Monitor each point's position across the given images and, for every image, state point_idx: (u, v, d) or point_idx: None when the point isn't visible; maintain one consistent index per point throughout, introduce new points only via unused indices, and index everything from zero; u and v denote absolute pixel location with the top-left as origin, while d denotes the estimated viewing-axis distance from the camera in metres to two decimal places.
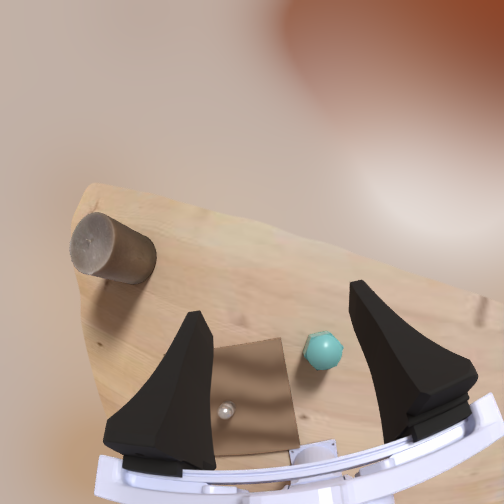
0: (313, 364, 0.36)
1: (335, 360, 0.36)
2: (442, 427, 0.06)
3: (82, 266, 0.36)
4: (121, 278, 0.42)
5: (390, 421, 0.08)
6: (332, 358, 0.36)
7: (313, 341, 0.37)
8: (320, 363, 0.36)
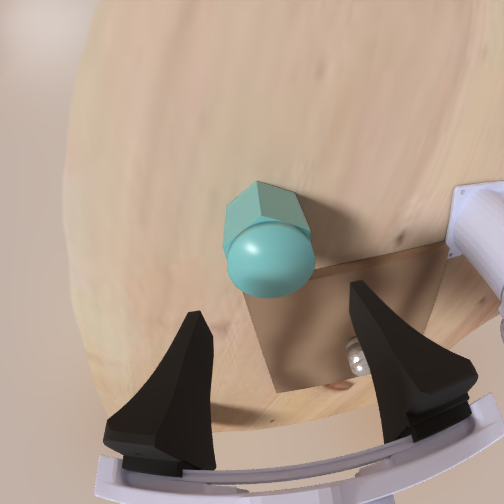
0: (298, 285, 0.17)
1: (294, 242, 0.15)
2: (442, 427, 0.06)
3: None
4: None
5: (390, 421, 0.08)
6: (288, 249, 0.15)
7: (243, 288, 0.17)
8: (297, 273, 0.16)
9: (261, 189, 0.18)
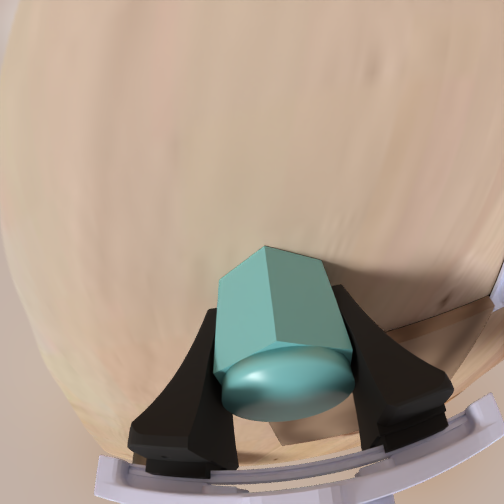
0: (324, 409, 0.10)
1: (328, 376, 0.08)
2: (415, 439, 0.06)
3: None
4: None
5: (365, 429, 0.08)
6: (317, 384, 0.09)
7: (245, 416, 0.10)
8: (326, 400, 0.10)
9: (273, 266, 0.11)
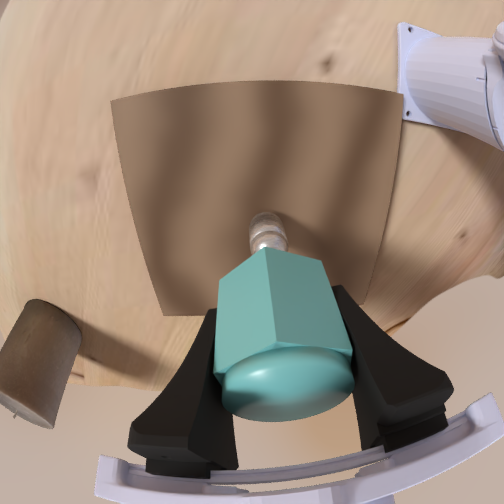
0: (324, 409, 0.10)
1: (328, 377, 0.08)
2: (415, 439, 0.06)
3: (45, 424, 0.19)
4: (58, 364, 0.24)
5: (365, 429, 0.08)
6: (317, 384, 0.09)
7: (246, 416, 0.10)
8: (326, 400, 0.10)
9: (273, 266, 0.11)
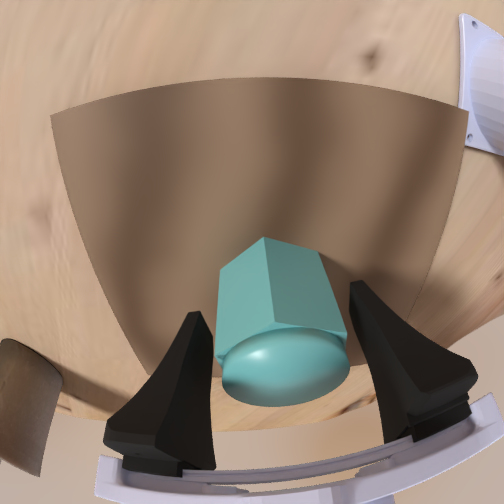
0: (320, 394, 0.11)
1: (324, 358, 0.09)
2: (442, 427, 0.06)
3: None
4: (37, 414, 0.18)
5: (390, 422, 0.08)
6: (314, 365, 0.09)
7: (245, 400, 0.11)
8: (322, 384, 0.10)
9: (271, 255, 0.12)
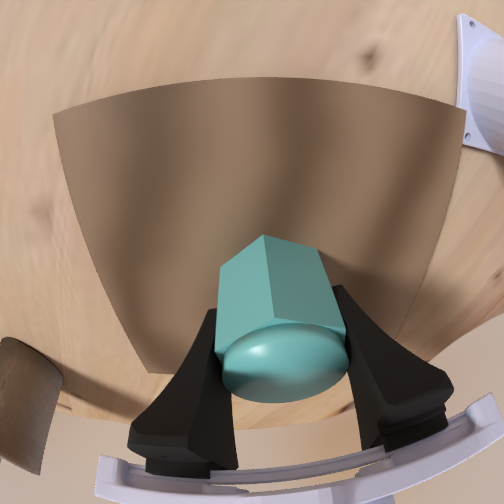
0: (320, 390, 0.11)
1: (323, 353, 0.09)
2: (416, 438, 0.06)
3: None
4: (37, 412, 0.18)
5: (365, 429, 0.08)
6: (313, 361, 0.09)
7: (245, 396, 0.11)
8: (321, 380, 0.10)
9: (271, 252, 0.12)
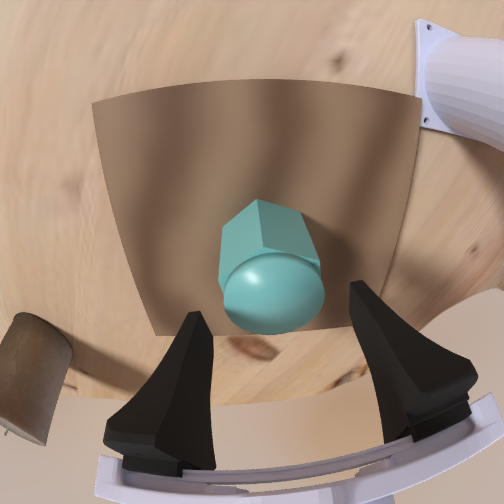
0: (304, 321, 0.15)
1: (302, 277, 0.13)
2: (442, 427, 0.06)
3: (37, 442, 0.17)
4: (48, 381, 0.21)
5: (390, 421, 0.08)
6: (294, 285, 0.13)
7: (242, 325, 0.14)
8: (304, 309, 0.14)
9: (262, 209, 0.16)
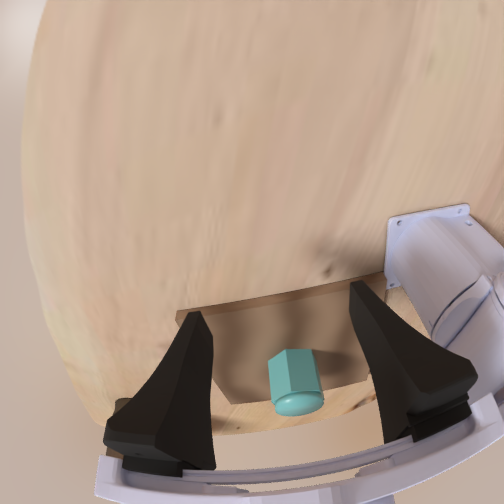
0: (315, 409, 0.26)
1: (310, 400, 0.24)
2: (442, 427, 0.06)
3: None
4: None
5: (390, 421, 0.08)
6: (307, 402, 0.24)
7: (285, 415, 0.26)
8: (314, 406, 0.25)
9: (289, 359, 0.27)
